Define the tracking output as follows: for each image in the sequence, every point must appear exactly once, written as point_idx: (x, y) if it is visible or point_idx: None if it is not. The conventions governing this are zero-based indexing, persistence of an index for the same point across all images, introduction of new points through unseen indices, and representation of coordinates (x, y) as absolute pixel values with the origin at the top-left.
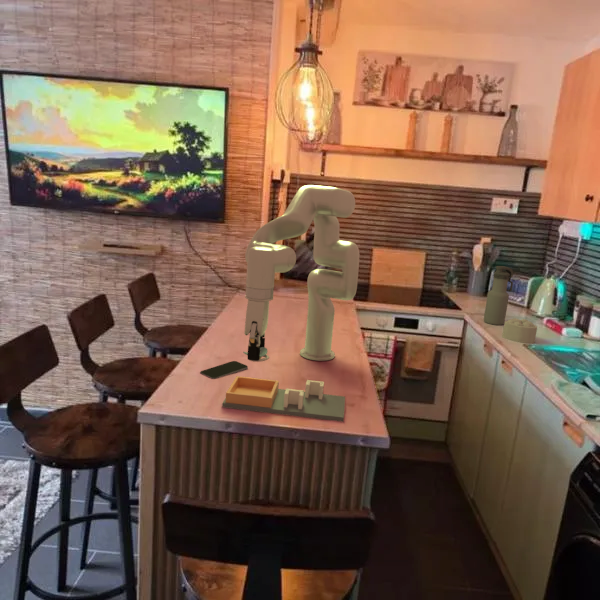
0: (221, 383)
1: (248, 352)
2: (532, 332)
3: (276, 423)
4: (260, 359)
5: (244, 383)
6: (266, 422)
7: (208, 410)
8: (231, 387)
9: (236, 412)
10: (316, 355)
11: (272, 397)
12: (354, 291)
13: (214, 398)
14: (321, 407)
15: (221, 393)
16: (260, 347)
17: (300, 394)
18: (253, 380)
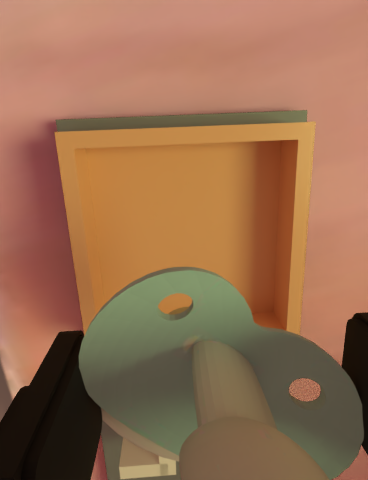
0: (338, 27)
1: (31, 391)
2: None
3: (17, 357)
4: (119, 427)
5: (284, 173)
6: (8, 325)
7: (2, 64)
8: (137, 141)
9: (39, 197)
10: None
11: None
12: None
13: (143, 50)
14: (166, 475)
15: (212, 68)
16: (362, 413)
17: (128, 470)
18: (290, 223)
